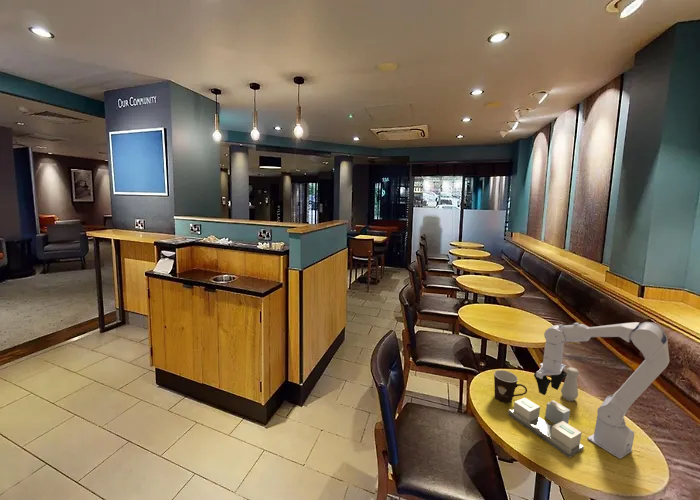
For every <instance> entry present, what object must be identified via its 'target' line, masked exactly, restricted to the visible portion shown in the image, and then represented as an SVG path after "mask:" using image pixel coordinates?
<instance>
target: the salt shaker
mask: <svg viewBox="0 0 700 500" xmlns="http://www.w3.org/2000/svg"><path fill="white" fill-rule="evenodd" d="M565 372H566V373H567V376H566V377H565V378H564V382H563V384H562V386H561V389H560V392H561V394H562V398H563V399H564V400H566V401H570V402H574V401H575V400H577V398H578V397H579V390H578V378H579V375H580V372H579V370H578V369H577V368H576V367H575V368H574V367H567V368H565ZM577 377H578V378H577Z"/></svg>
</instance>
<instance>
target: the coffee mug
mask: <svg viewBox="0 0 700 500" xmlns="http://www.w3.org/2000/svg"><path fill="white" fill-rule="evenodd" d="M493 376H494V378H493V381H494V386H493V388H494V398H495V399H496V400H497V401H499V402H500V403H503V404H511V403H512V402H513V398H515V397H519V396H520V397H521V396H524V395H526V394H527V393H528V388H527V387H526V386H525V385H524V384H522V383H518V380H519V378H518V376H517V375H516V374H514V373H513V372H512V371H511V372H510V371H508V370H504V369H499V370H498V369H497V370H495V371H494V373H493ZM519 386H520V387H523V389H524V390H525V392H523V393H518V394H517V393H516V394H515V390H516V388H517V387H519Z"/></svg>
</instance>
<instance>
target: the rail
mask: <svg viewBox="0 0 700 500" xmlns="http://www.w3.org/2000/svg"><path fill="white" fill-rule="evenodd" d="M507 410H508V411H507V416H509V417H510V418H511V419H513V420H515V421H516V422H517V423H519V425H522V426H523V427H524V428H525V429H527V430H528V431H530V432H531V433H533V434H535V436H538V437H539V438H540V439H542V440H543V441H545V443H548V445H550V446H551V447H553V448H554V449H556V450H557V451H559V452H560V453H562V454H563V455H564V456H565V457H567V458H568V459H569V458H572V457H574V456H575V455H576V454H578V453H580V452H581V451H583V450H584V448H585V446H584V445H583V444H581V443H580V445H578V446H576V447H575V448H573V449H571V450H570V449H568V448H567V447H565V446H564V445H562V444H561V443H559V442H558V441H556V440H555V439H553V438H552V437H551V430H552V426H553V425H552V424H550V423H549V422H547V421H546V420H545V419H543V418H541V417H540V416H539V418H537V419H535V420H533V421H531V422H529V421H527V420H526V419H524V418H523V417H521V416H520V415H518V414H517V413H515V412H514V411H513V410H514V409H511V408H509V409H507Z"/></svg>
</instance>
